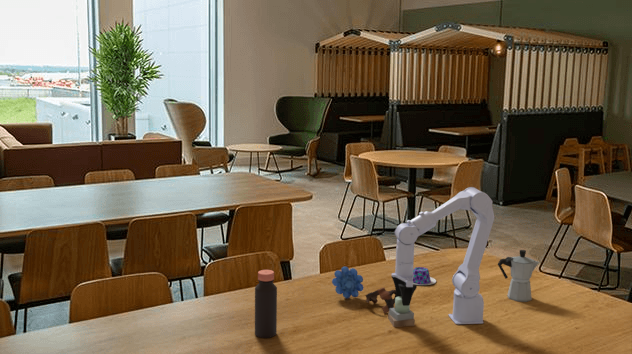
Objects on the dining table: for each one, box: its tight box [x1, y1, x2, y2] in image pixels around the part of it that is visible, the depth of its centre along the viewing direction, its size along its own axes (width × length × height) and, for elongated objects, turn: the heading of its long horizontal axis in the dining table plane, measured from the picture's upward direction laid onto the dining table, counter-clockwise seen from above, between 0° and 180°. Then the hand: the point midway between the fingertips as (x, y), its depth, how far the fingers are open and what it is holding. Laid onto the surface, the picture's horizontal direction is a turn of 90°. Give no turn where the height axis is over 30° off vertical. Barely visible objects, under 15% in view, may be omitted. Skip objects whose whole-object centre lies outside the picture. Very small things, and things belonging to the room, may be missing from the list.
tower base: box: [387, 312, 416, 328], centre depth 214 cm, size 7×7×2 cm
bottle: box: [254, 269, 278, 339], centre depth 201 cm, size 7×7×20 cm
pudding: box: [413, 266, 437, 286], centre depth 255 cm, size 12×12×5 cm
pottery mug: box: [364, 287, 397, 314], centre depth 227 cm, size 12×10×8 cm
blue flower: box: [331, 266, 364, 299], centre depth 233 cm, size 12×7×12 cm, turn 101°
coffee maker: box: [497, 249, 541, 303], centre depth 238 cm, size 15×9×18 cm, turn 84°
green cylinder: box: [394, 296, 411, 313], centre depth 214 cm, size 5×5×4 cm
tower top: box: [388, 307, 415, 321], centre depth 214 cm, size 6×6×2 cm
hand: (402, 300), depth 213 cm, fingers open, 7 cm apart
